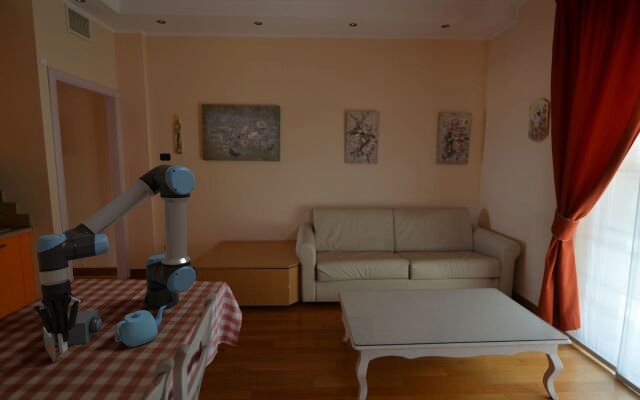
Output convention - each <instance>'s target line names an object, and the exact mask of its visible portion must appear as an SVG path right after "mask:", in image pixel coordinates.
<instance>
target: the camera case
mask: <svg viewBox="0 0 640 400" xmlns="http://www.w3.org/2000/svg"><path fill="white" fill-rule="evenodd" d="M69 315H70V311H69V312H68V320H69ZM99 315H100V314H99V309H97V310H94V309H93V310H78V312H77V318H76V323H75V326H74V327H73V328H72V329H71V330H69V340H68V341H67V346H73V345H74V346H75V345H85V344H88V343H89V341H90V340H91V339H92V338H93V337H94V336H95V335H96V334H98V333H99V332H100V331H101V329H102V326H103V321H102V320H103V319H102V317H101V316H99ZM50 334H51V335H52V337H53V338H54V341H55V347H59V343H56V340H55V334H54V333H50Z"/></svg>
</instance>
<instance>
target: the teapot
mask: <svg viewBox="0 0 640 400" xmlns="http://www.w3.org/2000/svg"><path fill="white" fill-rule="evenodd" d="M166 306H167V305H165V306H163V307H161V308H160V309H159V310H158V312H157V316H156V317H155V318H154V315H152V313H151V312H150V311H149V310H146V309H144V310H143V309H142V310H136V311H134V312H131V313H128V314H126V315H125V316H124V318H123V320H122V321H119V322H118V323H116V325H115V326H114V330H115V333H116V336H115V337H114V342H116V343H120V342H122V343H123V344H124V345H125V346H127V347H132V348H133V347H139V346H140V345H144V344H146V343H150V342H152V341H153V340H155V339H156V337H157V335H158V327H159V326H160V324H161V323H162V319H163V311H164V310H165V309H164V308H165V307H166ZM163 309H164V310H163ZM119 327H120V329H119Z"/></svg>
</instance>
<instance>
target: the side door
mask: <svg viewBox="0 0 640 400" xmlns="http://www.w3.org/2000/svg"><path fill="white" fill-rule="evenodd" d="M42 335H43V337H42V338H43V347H44V349H45V350H46V352H47V354H48V355H49V357H50V359H51V360H52V362H56V361H57V358H56V357H57V356H56V346H55V341H54V338H53V337H52V335H51V334H50V333H47V331H46V329H45V326H44V325H43V326H42Z"/></svg>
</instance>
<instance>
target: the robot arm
mask: <svg viewBox="0 0 640 400" xmlns="http://www.w3.org/2000/svg"><path fill="white" fill-rule="evenodd" d="M195 187H196V178H195V174H194V173H193V172H192V170H191V169H189V168H188V167H186V166H182V165H178V164H175V165H173V164H161V165H160V164H159V165H157V166H155V167H152V168H151V169H150V170H148V171H147V172H145V173H144V174H143V175H141V176H139V177H138V178H136V180H135V183H134V184H133V185H132V186H131V187H129V188H127V189H126V190H125V191H124V192H122V193H121V194H119V195H118V196H117V197H115V198H114V199H113V200H111V201H110V202H108V203H107V204H106V205H104V206H103V207H102V208H100V209H99V210H97V211H96V212H95V213H93V214H91V216H89V217H88V218H86V219H85V220H83V221H81V223H79V224H78V225H76V226H74V227H71V228H68V229H67V228H66V229H65V230H64V231H63V232H62V233H54V234H53V233H52V234H45V235H41V236H38V237H37V238H36V239H35V241H36V243H35V244H36V245H35V247H36V251H35V252H36V255H37V256H36V257H37V262H38V263H37V264H38V272H39V273H38V274H39V281H40V284H42V285H40V291H41V295H42V299H41V302H40V303H39V304H37V305H36V306H34V307H33V310H34V311H36V312H37V314H38V315H39V318H40V320H41V322H42V323H43V327H44V326H45V329H46V331H47V333H54V334H55V340H56V343H59V346H58V347H59V354H64V353H65V352H66V351H67V350H68V349H69V348H68V345H67V341H68V340H69V330H71V329H72V328H73V327H74V326H75V323H76V318H77V312H78V311H79V306H80V304H81V303H82V301H83V300H82V299H81V298H75V297H74V295H73V293H72V283H71V282H72V281H71V279H70V277H71V273H70V266H69V261H75V260H80V259H86V258H91V257H98V256H101V255H105V254H107V253H108V252H109V250H110V241H109V237H108V236H107V235H106V234H105V231H107V230H108V229H109V228H111V227H112V226H114V225H115V224H116V223H117V222H118V221H120V220H121V219H122V218H124V217H125V216H127V214H130V212H131V211H133V210H134V209H135V208H136V207H138V206H139V205H141V204H142V203H144V202H145V201H146V200H147V199H148V198H153V197H155V196H156V195H158V194H159V196H160V197H159V198H160V199H161V200H162V201H163V203H164V206H163V207H164V253H161V254H155V255H152V256H149V257H147V258H146V260H145V276H146V291H145V294H144V298H143V301H142V308H143V309H144V310H146V311H152V312H153V311H155V312H156V311H159V309H160V308H161V307H163V306H165V305H167V306H166V307H165V308H164V309H163V311H164V310H168V309H170V308H174V307H175V306H177V305H178V304H179V303H180V295H179V293H184V292H186V291H188V290H189V289H190V288H191V287H192V286H193V285H194V283H195V281H196V279H197V277H196V276H197V274H196V271H195V269H194V268H193V267H191V265H192V261H191V257H189V256H188V248H187V247H188V237H187V236H188V235H187V233H188V231H187V229H188V228H187V225H188V221H187V217H188V216H187V212H188V211H187V207H188V206H187V202H188V201H189V199H191V192H193V190H194V188H195ZM68 305H69V306H71V308H70V309H69V312H70V315H69V320H68ZM46 307H47V308H48V309H49V312H50V314H51V317H50V314H49V312H48V310H47V308H46Z"/></svg>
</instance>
